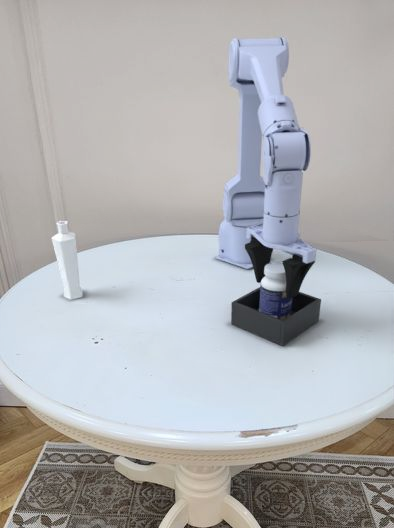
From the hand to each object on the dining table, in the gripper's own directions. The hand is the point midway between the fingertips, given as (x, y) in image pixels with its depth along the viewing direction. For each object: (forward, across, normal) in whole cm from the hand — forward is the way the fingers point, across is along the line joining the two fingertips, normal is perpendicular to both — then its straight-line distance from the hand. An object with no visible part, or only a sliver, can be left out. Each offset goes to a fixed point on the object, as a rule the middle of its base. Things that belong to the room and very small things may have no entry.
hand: (276, 288), depth 93 cm
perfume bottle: (+7, +33, +24) cm, 41 cm away
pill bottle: (+6, 0, 0) cm, 6 cm away
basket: (+6, -1, 0) cm, 7 cm away
